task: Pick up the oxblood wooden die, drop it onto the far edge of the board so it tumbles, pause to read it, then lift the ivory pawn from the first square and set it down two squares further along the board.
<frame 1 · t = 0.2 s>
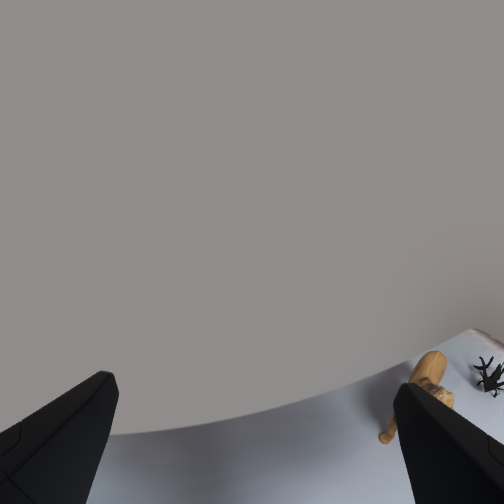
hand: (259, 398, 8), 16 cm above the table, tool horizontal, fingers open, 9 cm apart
creature: (489, 387, 27), on the table
lion figurine: (408, 424, 24), on the table
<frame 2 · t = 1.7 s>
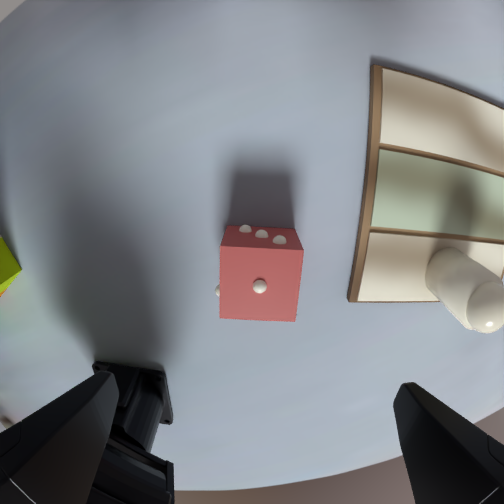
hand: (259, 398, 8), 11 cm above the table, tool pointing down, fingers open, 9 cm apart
board: (453, 198, 17), on the table
pawn: (445, 271, 18), point 1 cm above the table, touching board
die: (259, 258, 19), on the table
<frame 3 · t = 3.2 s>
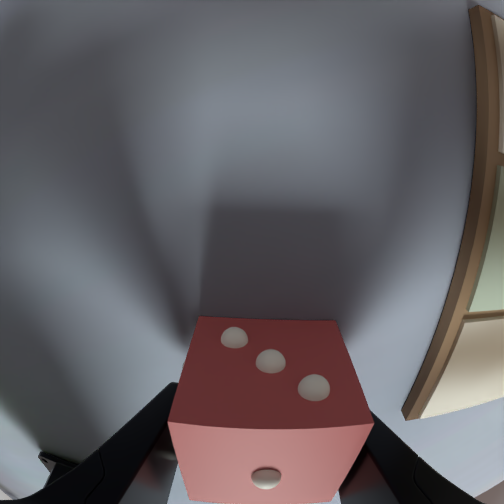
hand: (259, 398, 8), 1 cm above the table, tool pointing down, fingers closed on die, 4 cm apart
die: (264, 370, 9), on the table, touching gripper
when the fingers open (7 cm above the table, at t = 5.8 s): die drops 4 cm and tips over, point 2 cm above the table.
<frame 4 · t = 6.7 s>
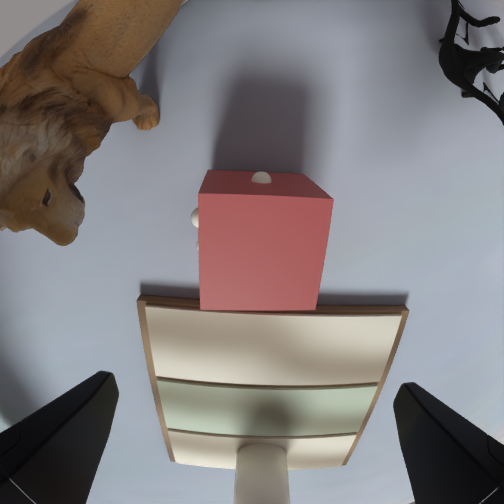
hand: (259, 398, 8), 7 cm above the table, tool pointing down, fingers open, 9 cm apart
creature: (468, 64, 11), on the table
board: (266, 405, 18), on the table
lion figurine: (169, 65, 12), on the table
pawn: (261, 455, 19), point 1 cm above the table, touching board
die: (254, 281, 12), point 2 cm above the table, tilted 85°
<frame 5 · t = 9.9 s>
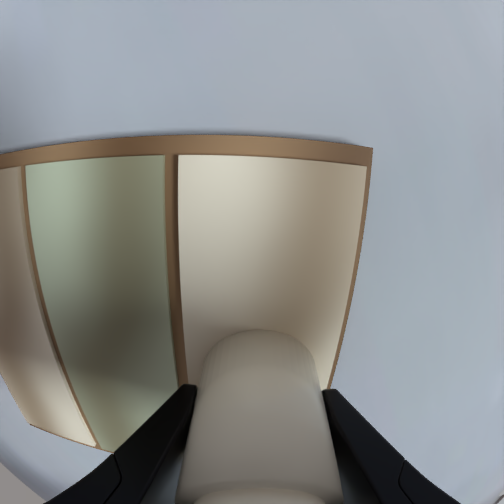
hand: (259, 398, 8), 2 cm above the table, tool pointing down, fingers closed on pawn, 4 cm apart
board: (119, 346, 10), on the table
pawn: (259, 375, 9), point 1 cm above the table, touching board, gripper
when the fingers open (3 cm above the table, at t = 13.1 s): pawn drops 1 cm, resting on board.
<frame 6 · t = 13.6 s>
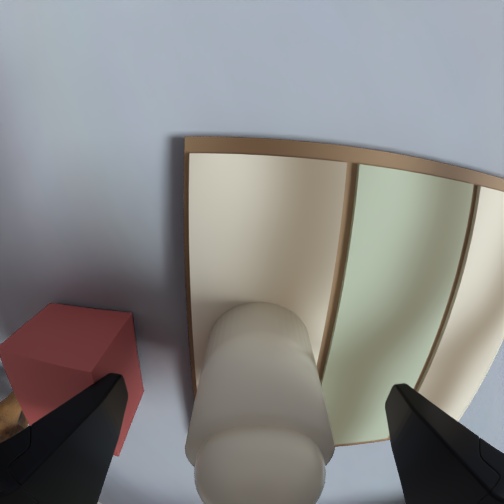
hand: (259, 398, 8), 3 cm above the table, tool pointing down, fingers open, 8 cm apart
board: (380, 334, 11), on the table
lion figurine: (5, 361, 13), on the table
pawn: (259, 345, 11), point 1 cm above the table, touching board
die: (123, 384, 10), point 2 cm above the table, tilted 88°, touching gripper
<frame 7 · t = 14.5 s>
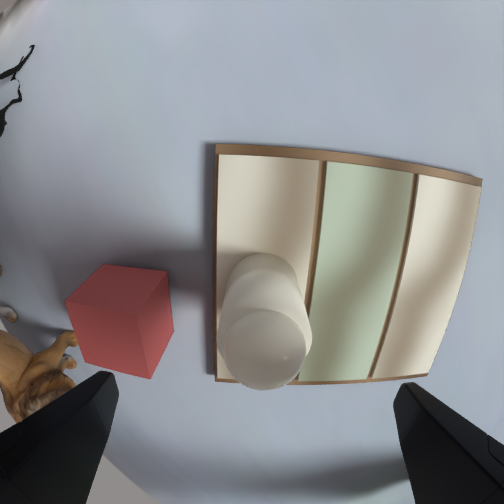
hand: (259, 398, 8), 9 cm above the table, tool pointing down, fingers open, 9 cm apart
creature: (4, 95, 13), on the table
board: (351, 284, 17), on the table
lion figurine: (46, 320, 18), on the table
pawn: (262, 286, 16), point 1 cm above the table, touching board
die: (158, 324, 15), point 3 cm above the table, tilted 95°
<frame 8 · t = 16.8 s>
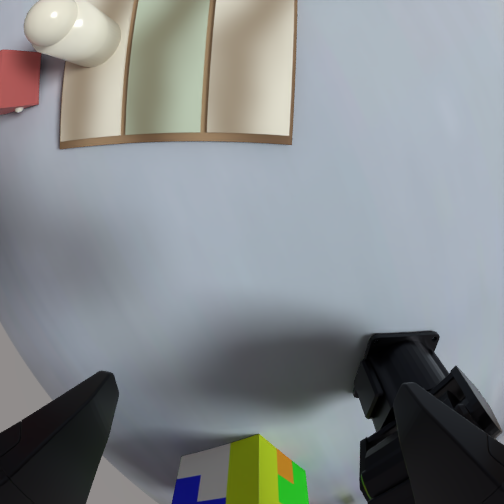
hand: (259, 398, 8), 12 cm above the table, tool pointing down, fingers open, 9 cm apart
puzzle toy: (244, 464, 28), on the table
board: (171, 35, 15), on the table
pawn: (96, 42, 14), point 1 cm above the table, touching board
die: (20, 77, 13), point 3 cm above the table, tilted 95°
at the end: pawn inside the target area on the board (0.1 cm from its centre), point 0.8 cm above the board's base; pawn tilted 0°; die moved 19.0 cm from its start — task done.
